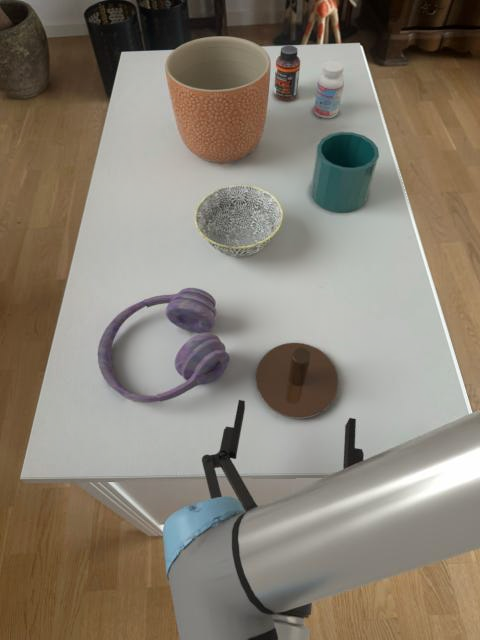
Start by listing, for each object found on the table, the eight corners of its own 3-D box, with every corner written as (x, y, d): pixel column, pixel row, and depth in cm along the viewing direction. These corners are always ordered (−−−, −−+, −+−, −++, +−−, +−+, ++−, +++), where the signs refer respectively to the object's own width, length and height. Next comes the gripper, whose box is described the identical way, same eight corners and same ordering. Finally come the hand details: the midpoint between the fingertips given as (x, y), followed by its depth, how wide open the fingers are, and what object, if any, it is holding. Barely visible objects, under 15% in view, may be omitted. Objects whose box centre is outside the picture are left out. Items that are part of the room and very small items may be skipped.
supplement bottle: (271, 100, 112) (273, 53, 103) (276, 88, 115) (278, 41, 106) (295, 103, 111) (299, 56, 102) (298, 90, 115) (303, 44, 105)
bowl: (240, 288, 80) (239, 261, 74) (181, 244, 86) (176, 215, 80) (297, 241, 86) (300, 212, 80) (238, 202, 92) (237, 173, 86)
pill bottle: (308, 112, 109) (314, 65, 100) (324, 102, 112) (331, 55, 102) (327, 122, 107) (335, 75, 97) (343, 111, 109) (352, 65, 100)
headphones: (216, 295, 78) (108, 327, 79) (205, 267, 71) (87, 303, 72) (239, 388, 69) (116, 424, 69) (229, 366, 62) (92, 406, 62)
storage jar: (375, 205, 91) (389, 162, 82) (323, 218, 89) (331, 175, 81) (352, 170, 97) (362, 127, 88) (302, 181, 95) (308, 138, 87)
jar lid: (350, 406, 67) (362, 382, 60) (271, 430, 66) (273, 408, 58) (318, 337, 74) (325, 308, 67) (245, 357, 72) (245, 330, 65)
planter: (283, 158, 100) (289, 73, 84) (198, 186, 95) (188, 102, 79) (243, 111, 110) (242, 27, 94) (165, 134, 105) (150, 50, 89)
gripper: (157, 589, 48) (200, 408, 60) (390, 639, 46) (389, 439, 57) (144, 586, 42) (195, 384, 53) (413, 644, 39) (406, 418, 51)
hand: (295, 412), depth 55 cm, fingers open, 13 cm apart
